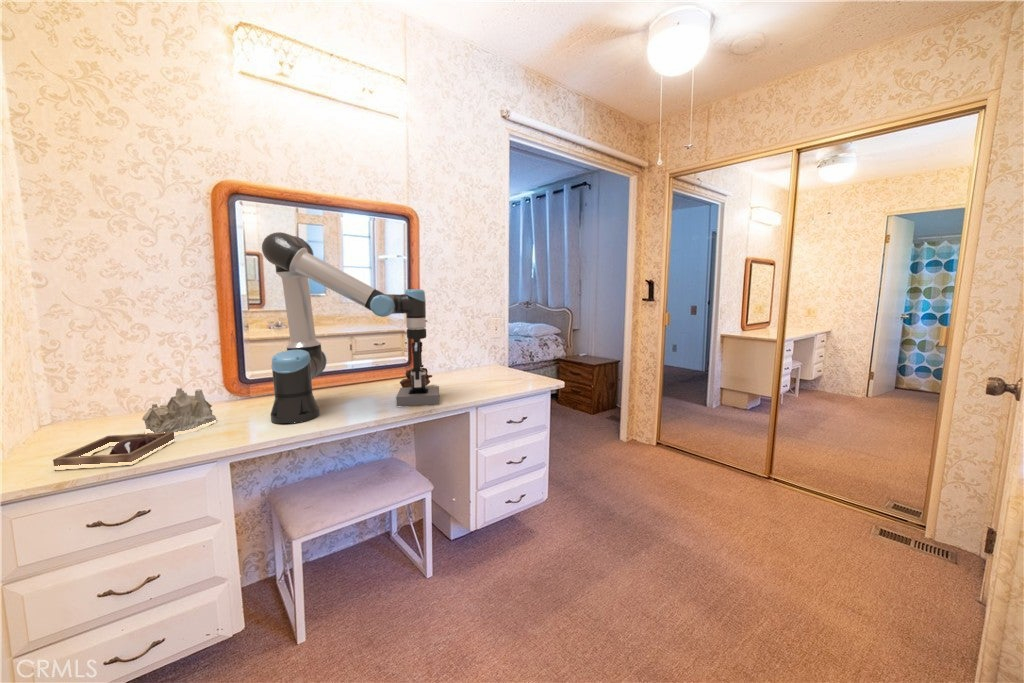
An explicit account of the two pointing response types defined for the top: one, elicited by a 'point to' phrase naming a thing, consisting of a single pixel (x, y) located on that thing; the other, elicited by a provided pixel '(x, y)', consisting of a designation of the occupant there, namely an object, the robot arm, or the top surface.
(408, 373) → the wooden carving
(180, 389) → the ceramic cottage
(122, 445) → the heart ornament
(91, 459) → the frame
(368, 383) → the top surface
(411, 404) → the grey recessed frame block
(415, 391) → the lens
